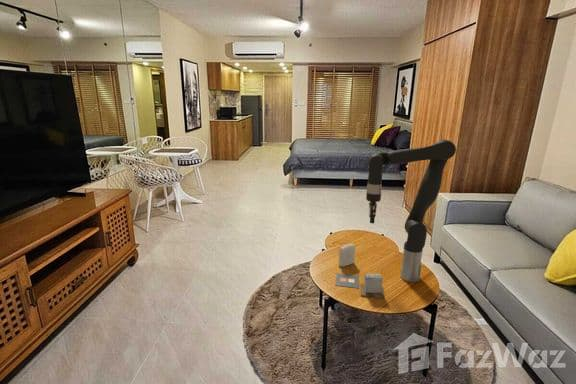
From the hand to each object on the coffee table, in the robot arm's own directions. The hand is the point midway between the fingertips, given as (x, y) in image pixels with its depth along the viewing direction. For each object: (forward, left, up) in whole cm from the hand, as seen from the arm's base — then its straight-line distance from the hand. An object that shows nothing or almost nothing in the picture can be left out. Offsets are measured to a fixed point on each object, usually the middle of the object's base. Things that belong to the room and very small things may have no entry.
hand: (371, 220), depth 168 cm
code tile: (+11, +14, -30) cm, 35 cm away
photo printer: (+12, -4, -30) cm, 33 cm away
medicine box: (-2, +22, -30) cm, 37 cm away
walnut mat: (-2, +22, -30) cm, 37 cm away
